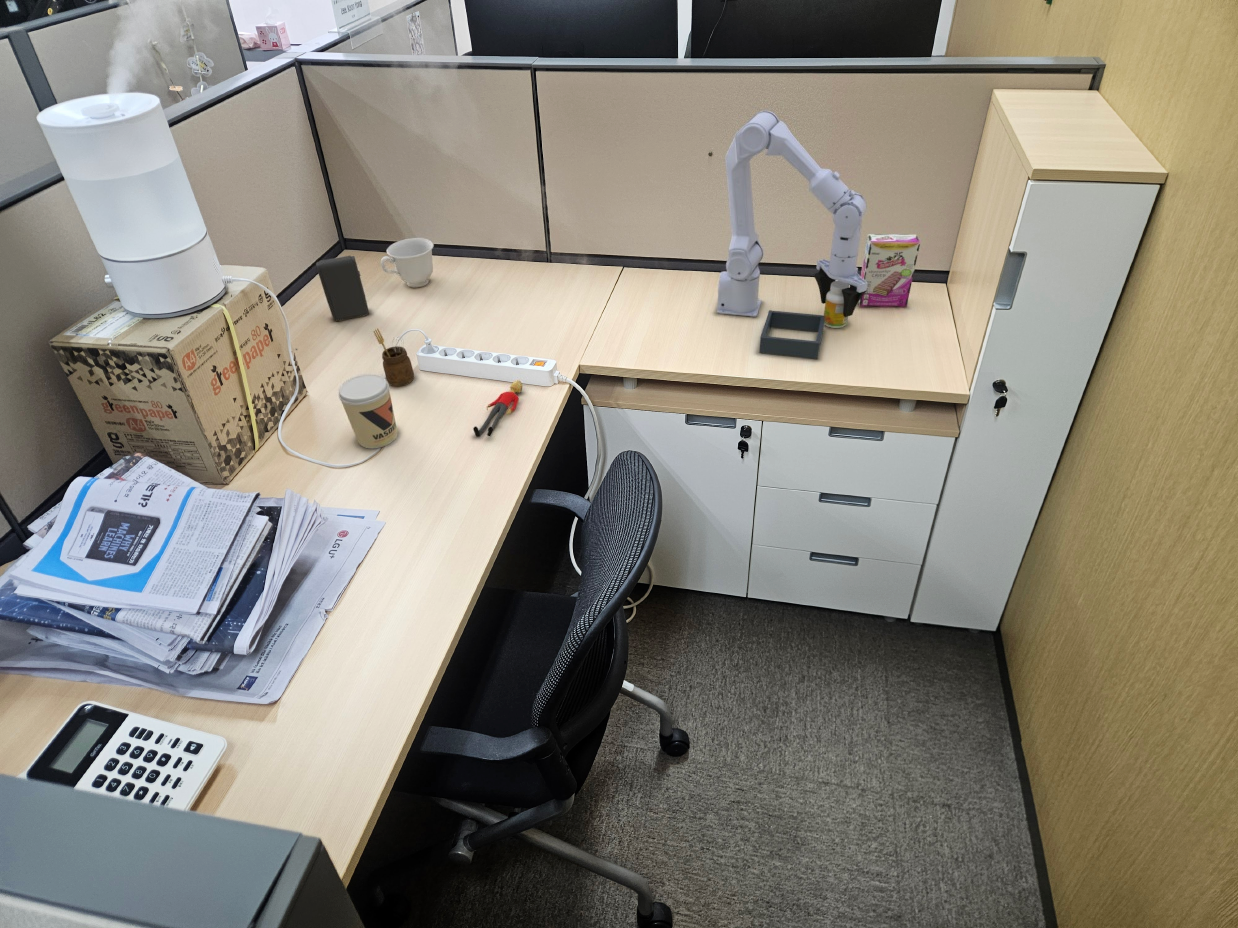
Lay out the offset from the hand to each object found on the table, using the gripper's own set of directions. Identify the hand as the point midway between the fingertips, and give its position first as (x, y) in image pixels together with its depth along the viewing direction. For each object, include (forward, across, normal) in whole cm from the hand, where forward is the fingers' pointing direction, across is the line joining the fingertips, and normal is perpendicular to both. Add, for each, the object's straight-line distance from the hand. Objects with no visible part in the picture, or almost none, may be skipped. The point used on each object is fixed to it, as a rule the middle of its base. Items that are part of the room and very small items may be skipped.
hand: (836, 308), depth 181 cm
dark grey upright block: (+4, +68, +96) cm, 118 cm away
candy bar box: (+4, +1, -16) cm, 16 cm away
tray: (+4, -1, +13) cm, 14 cm away
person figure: (+4, +8, +80) cm, 80 cm away
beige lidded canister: (+4, +13, +104) cm, 105 cm away
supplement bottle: (+4, 0, 0) cm, 4 cm away
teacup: (+4, +76, +78) cm, 109 cm away
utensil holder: (+4, +32, +94) cm, 99 cm away
